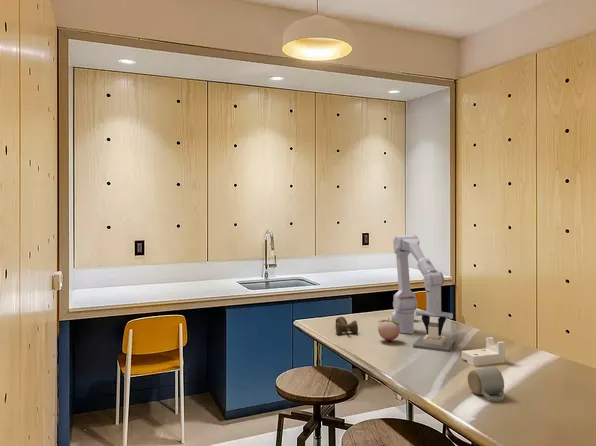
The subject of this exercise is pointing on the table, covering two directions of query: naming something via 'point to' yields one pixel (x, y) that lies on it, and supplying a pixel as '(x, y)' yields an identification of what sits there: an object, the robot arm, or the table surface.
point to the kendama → (345, 326)
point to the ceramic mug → (487, 382)
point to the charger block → (433, 331)
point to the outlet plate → (434, 343)
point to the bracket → (486, 353)
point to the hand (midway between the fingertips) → (434, 334)
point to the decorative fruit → (389, 329)
